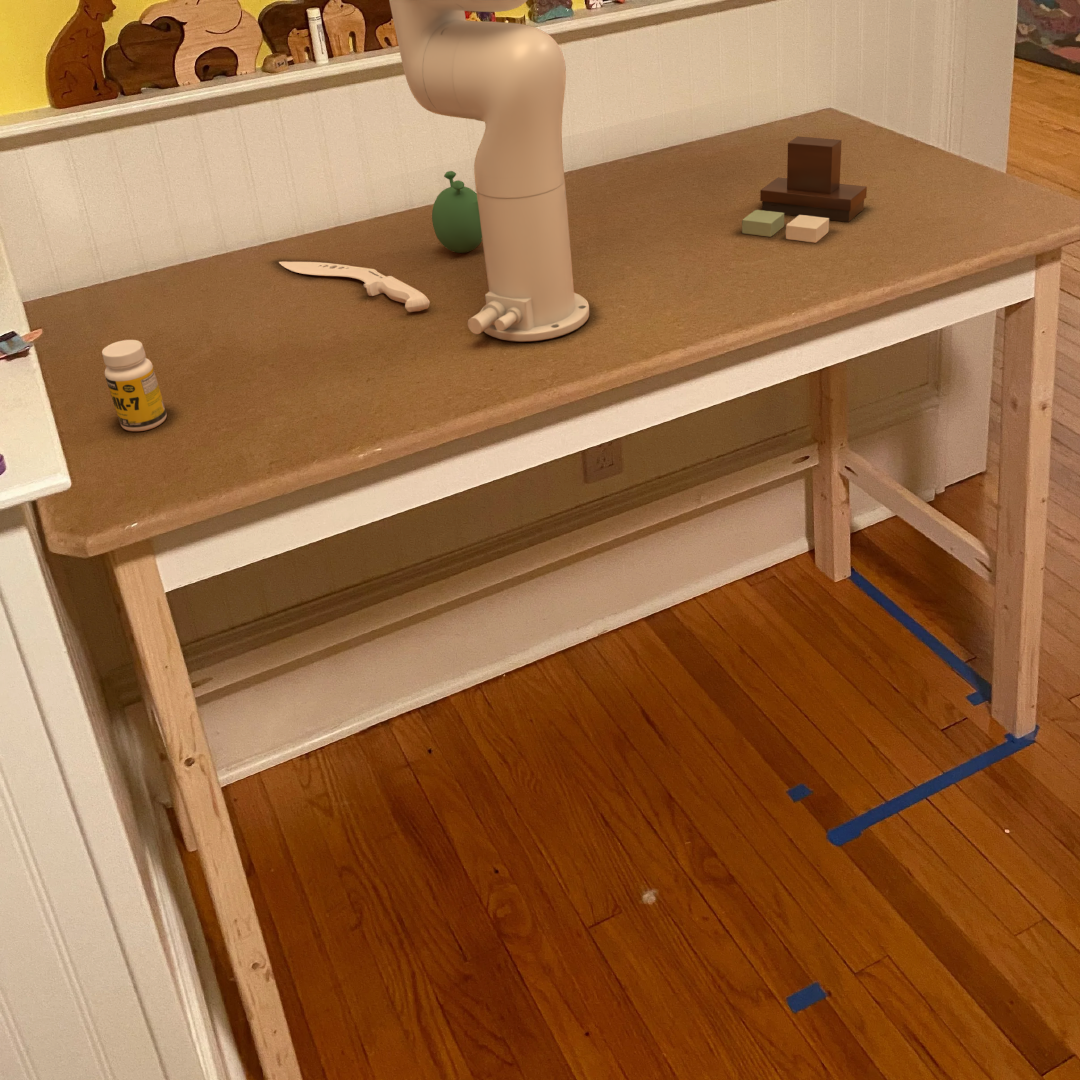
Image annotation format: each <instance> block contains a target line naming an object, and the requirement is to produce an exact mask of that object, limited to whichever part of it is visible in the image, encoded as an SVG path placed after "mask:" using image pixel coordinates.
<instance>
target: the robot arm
mask: <svg viewBox="0 0 1080 1080" xmlns="http://www.w3.org/2000/svg"><path fill="white" fill-rule="evenodd" d="M527 1H528V0H389V7H390V11H391V16H392V21H393V26H394V31H395V35H396V40H397V45H398V49H399V55H400V59H401V64H402V68H403V72H404V76H405V80H406V82H407V86H408V87H409V91H410V92H411V94H412V96H413V98H414V99H415V100H416V102H417V103H418V104H419V105H420V106H421V107H422V108H423V109H425V110H426V111H428V112H430V113H433V114H436V115H440V116H445V117H451V118H458V119H466V120H474V121H479V122H484V124H485V128H484V132H483V136H482V138H481V141H480V143H479V145H478V147H477V151H476V154H475V157H474V164H473V173H474V174H473V175H474V185H475V191H476V192H475V193H477V200H478V208H479V216H480V224H481V232H482V247H483V255H484V263H485V271H486V279H487V285H488V286H487V287H488V292H486V293H485V294H484V298H485V305H483V307H482V308H481V309H480V310H479V312H478V313H476V314H475V315H473V316H471V317H470V318H468V320H467V327H468V329H469V331H470V332H471V333H472V334H474V335H480V334H482V333H485V334H486V335H487V336H490V337H492V338H495V339H498V340H502V341H508V342H538V341H545V340H551V339H555V338H559V337H563V336H564V335H567V334H570V333H572V332H574V331H576V330H578V329H579V328H580V327H582V326H583V325H584V324H585V323H586V322H587V321H588V319H589V317H590V304H589V302H588V300H587V299H586V298H585V297H583V296H582V295H581V294H578V293H576V292H575V287H574V275H573V263H572V252H571V249H572V248H571V237H570V226H569V215H568V214H569V213H568V201H567V191H566V180H565V168H564V155H563V152H564V151H563V112H564V101H565V95H566V93H565V92H566V82H567V68H566V67H567V66H566V61H565V56H564V53H563V51H562V50H561V47H560V45H559V44H558V42H557V41H556V39H554V38H553V37H552V36H551V35H549V33H547V32H546V31H544V30H542V29H540V28H537V27H536V26H532V25H529V24H524V23H523V24H522V23H516V22H502V21H487V20H483V21H481V20H479V21H478V20H467V18H466V13H465V12H479V13H481V12H482V13H499V12H500V13H501V12H507V11H508V12H509V11H512V10H515V9H518V8H519V7H521V6H522V5H524V4H525V3H526V2H527Z"/></svg>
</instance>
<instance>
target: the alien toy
mask: <svg viewBox="0 0 1080 1080" xmlns="http://www.w3.org/2000/svg"><path fill="white" fill-rule="evenodd" d="M456 176H457V173H456V172H455V171H453V170H448V171H446V172H445V174H444V175H443V177H444V178H445V179H447V180H448V181H449V184H450V186H449V187H445V189H443V190H441V192H439V194H438V195H437V197H436V199H435V200H434V202H433V206H432V211H431V222H432V227H433V230H434V233H435V236H436V238H437V240H438V241H439V242H440V244H441V245H442V246H443V247H444V248H446V249H447V250H449V252H453V253H455V254H456V253H457V254H466V253H469V252H472V251H474V250H475V249H476V248H477V247H478V246H480V245H481V243H482V242H483V240H482V232H481V224H480V216H479V208H478V200H477V192H475V191H474V190H473V189H471V188H470V187H468V186H465V183H464V181H462V180H459V179H458V180H454V178H455V177H456Z"/></svg>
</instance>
